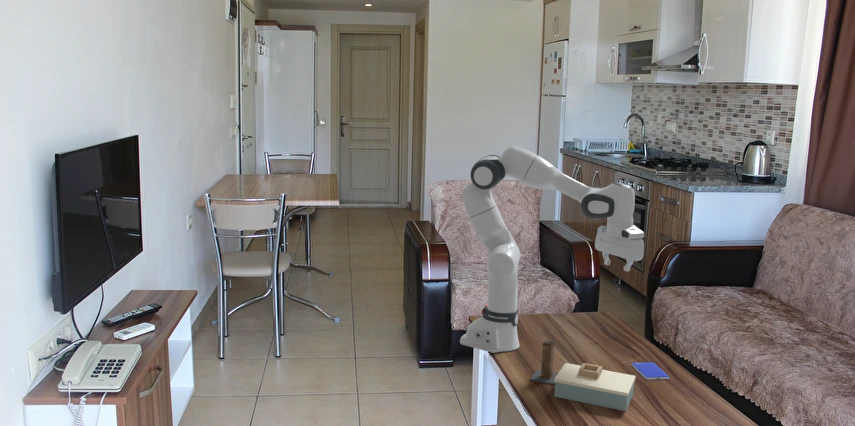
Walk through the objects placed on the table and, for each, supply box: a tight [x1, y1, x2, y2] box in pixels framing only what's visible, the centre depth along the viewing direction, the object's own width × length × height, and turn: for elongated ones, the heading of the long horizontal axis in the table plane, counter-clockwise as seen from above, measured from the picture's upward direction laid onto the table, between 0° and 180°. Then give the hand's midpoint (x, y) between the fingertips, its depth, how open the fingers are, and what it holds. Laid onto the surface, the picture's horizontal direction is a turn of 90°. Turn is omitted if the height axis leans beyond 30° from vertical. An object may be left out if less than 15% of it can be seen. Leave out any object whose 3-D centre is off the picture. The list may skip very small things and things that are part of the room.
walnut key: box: [540, 340, 555, 379], centre depth 231 cm, size 3×3×12 cm
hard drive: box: [631, 361, 671, 381], centre depth 239 cm, size 2×8×12 cm
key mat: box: [529, 369, 559, 386], centre depth 232 cm, size 9×9×1 cm
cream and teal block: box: [554, 362, 637, 412], centre depth 219 cm, size 23×15×8 cm, turn 65°
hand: (616, 267), depth 243 cm, fingers open, 8 cm apart
